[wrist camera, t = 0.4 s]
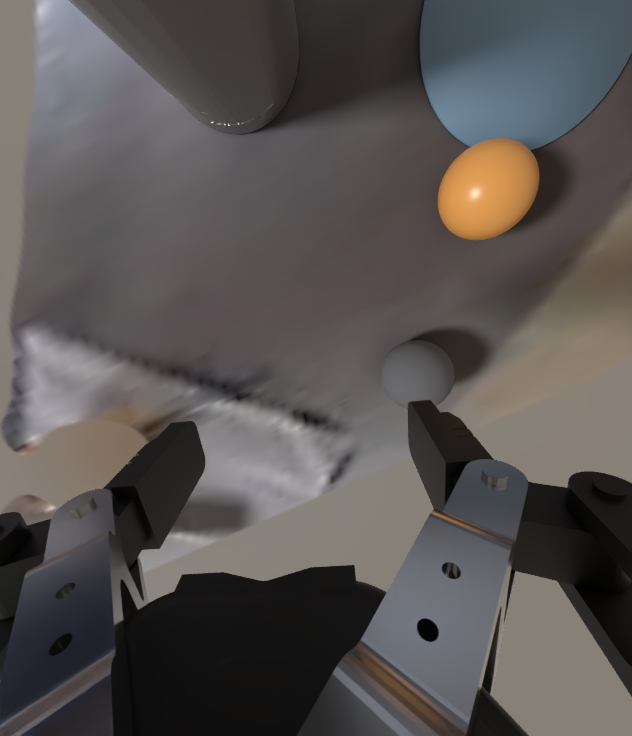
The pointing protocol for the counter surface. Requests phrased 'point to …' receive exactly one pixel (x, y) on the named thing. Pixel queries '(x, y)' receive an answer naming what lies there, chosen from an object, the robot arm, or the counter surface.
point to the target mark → (521, 64)
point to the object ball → (488, 188)
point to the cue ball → (417, 373)
